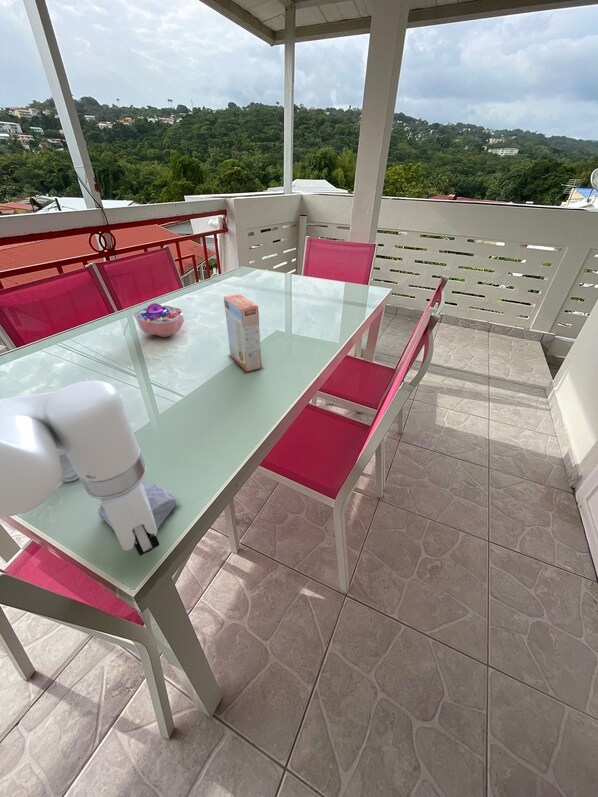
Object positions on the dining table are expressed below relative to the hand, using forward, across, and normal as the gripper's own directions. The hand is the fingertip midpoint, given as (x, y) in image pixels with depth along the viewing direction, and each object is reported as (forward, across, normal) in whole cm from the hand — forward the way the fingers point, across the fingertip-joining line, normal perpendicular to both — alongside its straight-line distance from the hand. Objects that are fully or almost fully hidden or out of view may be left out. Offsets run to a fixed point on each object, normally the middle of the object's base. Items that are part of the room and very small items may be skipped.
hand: (148, 546), depth 54 cm
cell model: (+3, -90, +30) cm, 95 cm away
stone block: (+2, -10, 0) cm, 10 cm away
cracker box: (+3, -51, +46) cm, 68 cm away
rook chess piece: (+2, -28, -8) cm, 29 cm away
